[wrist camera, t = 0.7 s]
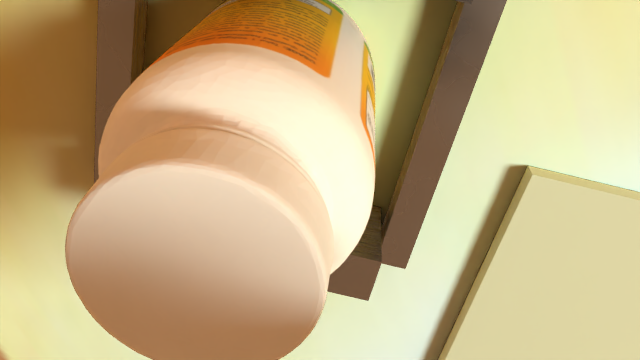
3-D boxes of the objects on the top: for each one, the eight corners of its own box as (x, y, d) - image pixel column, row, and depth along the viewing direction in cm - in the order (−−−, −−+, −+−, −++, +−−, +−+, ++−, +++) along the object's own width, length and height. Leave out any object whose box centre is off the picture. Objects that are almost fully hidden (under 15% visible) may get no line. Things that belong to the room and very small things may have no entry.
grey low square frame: (403, 251, 19) (408, 309, 17) (106, 181, 19) (64, 230, 16) (521, -67, 14) (553, -53, 12) (118, -169, 14) (60, -178, 11)
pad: (666, 434, 23) (673, 447, 22) (428, 380, 22) (429, 392, 22) (829, 238, 18) (843, 249, 17) (527, 165, 17) (532, 174, 17)
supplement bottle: (159, 57, 17) (-59, 244, 8) (296, -62, 15) (193, 25, 6) (274, 184, 19) (192, 445, 10) (410, 92, 17) (447, 320, 8)
